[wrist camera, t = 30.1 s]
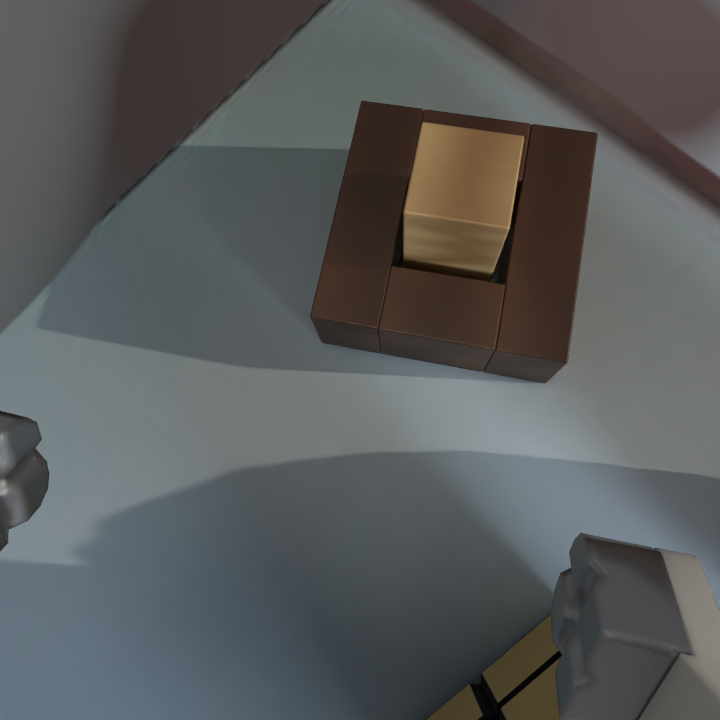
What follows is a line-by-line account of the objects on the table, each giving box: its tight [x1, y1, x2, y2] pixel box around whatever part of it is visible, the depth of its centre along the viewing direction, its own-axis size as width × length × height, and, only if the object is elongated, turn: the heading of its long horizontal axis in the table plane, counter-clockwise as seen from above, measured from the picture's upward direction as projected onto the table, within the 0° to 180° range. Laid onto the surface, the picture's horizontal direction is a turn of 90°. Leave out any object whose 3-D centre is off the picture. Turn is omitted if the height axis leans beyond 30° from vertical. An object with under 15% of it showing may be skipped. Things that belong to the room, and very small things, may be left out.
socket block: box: [310, 101, 597, 383], centre depth 29 cm, size 11×11×4 cm
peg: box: [403, 122, 524, 282], centre depth 27 cm, size 4×4×8 cm
